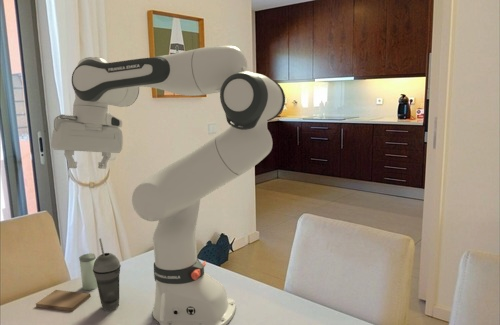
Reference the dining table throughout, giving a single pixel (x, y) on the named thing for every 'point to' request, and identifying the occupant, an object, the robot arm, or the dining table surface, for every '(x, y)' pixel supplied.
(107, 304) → the beverage cup
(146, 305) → the dining table surface
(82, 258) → the sage tube
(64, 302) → the walnut board
